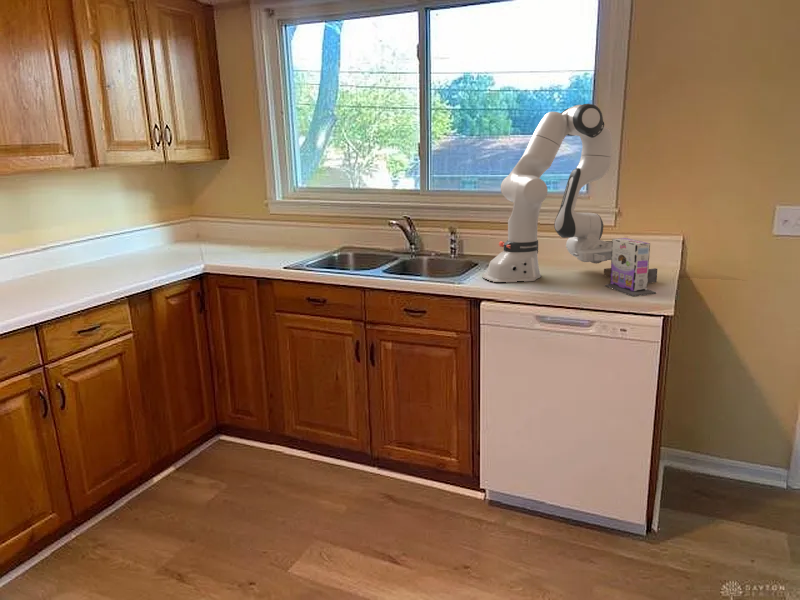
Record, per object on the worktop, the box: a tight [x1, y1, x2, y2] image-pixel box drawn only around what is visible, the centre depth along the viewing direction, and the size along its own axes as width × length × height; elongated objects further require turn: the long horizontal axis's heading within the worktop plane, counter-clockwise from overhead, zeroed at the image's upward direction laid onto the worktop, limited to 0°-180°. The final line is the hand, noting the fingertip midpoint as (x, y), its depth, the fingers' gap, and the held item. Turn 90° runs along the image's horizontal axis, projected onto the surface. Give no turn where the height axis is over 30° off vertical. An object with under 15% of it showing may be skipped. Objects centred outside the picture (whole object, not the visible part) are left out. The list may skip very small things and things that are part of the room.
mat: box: [605, 283, 657, 297], centre depth 216 cm, size 9×16×1 cm, turn 16°
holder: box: [603, 267, 658, 284], centre depth 232 cm, size 10×18×5 cm, turn 16°
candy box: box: [609, 237, 651, 291], centre depth 216 cm, size 14×6×16 cm, turn 16°
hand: (617, 257), depth 221 cm, fingers open, 8 cm apart
